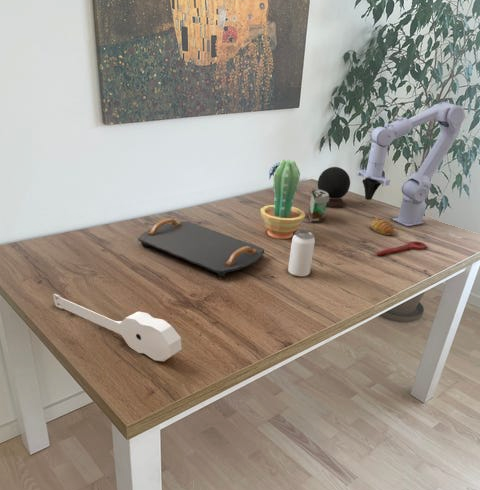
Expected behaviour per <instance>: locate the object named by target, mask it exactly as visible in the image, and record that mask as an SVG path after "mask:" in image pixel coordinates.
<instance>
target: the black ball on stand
mask: <svg viewBox="0 0 480 490" xmlns="http://www.w3.org/2000/svg"><path fill="white" fill-rule="evenodd" d="M350 187H351V178H350V175H349V174H348V172H347V171H346V170H345V169H343V168H342V167H339V166H331V167H327V168H326V169H324V170H323V171H322V172H321V173H320V175H319V177H318V180H317V189H319V190H323V191H325V192H327V193H328V194H329V201H328V202H327V204H326V208H333V209H336V208H342V207H344V206H345V201H344V200H343V199H342V198H344V197H345V196H346V194H347V193H348V192H349V190H350Z"/></svg>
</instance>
